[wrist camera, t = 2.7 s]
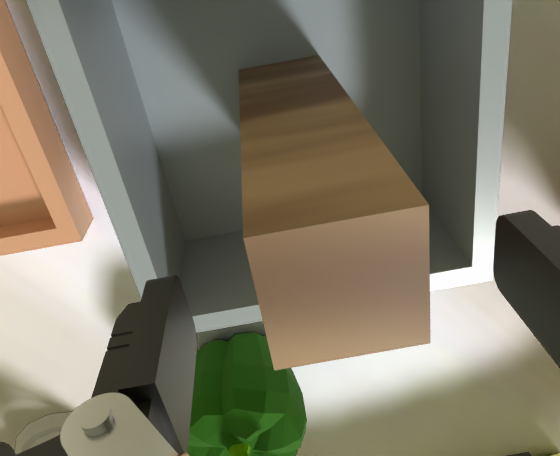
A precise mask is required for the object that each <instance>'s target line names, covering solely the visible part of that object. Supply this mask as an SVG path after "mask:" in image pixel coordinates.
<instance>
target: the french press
mask: <svg viewBox="0 0 560 456" xmlns="http://www.w3.org/2000/svg"><path fill="white" fill-rule="evenodd" d="M71 413H72V412H64V413H55V414H49V415H47V416H44V417H42V418H40V419H38V420H35V421H33V422H31V423H29V424H28V425H27V426H26V427H25V428H24V429H23V430H22V432H21V433H20V434H19V435H18V436H17V437H16V444H15V453H16V454H19V453H21V452H23V451H25V450H28V449H30V448H32V447H34V446H36V445H39V444H41V443H43V442H45V441H48V440H50V439H52V438H54V437H56V436H58V435H59V434H61V429H62V426H63V424H64V422H65V421H66V419H67V418H68V416H69V415H70V414H71Z"/></svg>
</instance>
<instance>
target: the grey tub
mask: <svg viewBox="0 0 560 456" xmlns="http://www.w3.org/2000/svg"><path fill="white" fill-rule="evenodd" d="M26 2H27V4H28V7H29V10H30V12H31V15H32V17H33V20H34V23H35V25H36V28H37V30H38V33H39V36H40V38H41V41H42V43H43V46H44V48H45V51H46V54H47V56H48V59H49V61H50V64H51V67H52V69H53V72H54V74H55V77H56V80H57V82H58V85H59V87H60V90H61V92H62V95H63V98H64V100H65V103H66V105H67V108H68V111H69V113H70V116H71V118H72V121H73V124H74V126H75V129H76V131H77V134H78V136H79V139H80V142H81V144H82V147H83V149H84V152H85V155H86V157H87V160H88V162H89V165H90V168H91V170H92V173H93V175H94V178H95V181H96V183H97V186H98V188H99V191H100V193H101V196H102V199H103V201H104V204H105V206H106V209H107V212H108V214H109V217H110V219H111V222H112V225H113V227H114V230H115V232H116V235H117V237H118V240H119V243H120V245H121V248H122V250H123V253H124V256H125V258H126V261H127V263H128V266H129V269H130V271H131V274H132V276H133V279H134V281H135V284H136V287H137V289H138V292H139V294H140V297H141V298H142V294H143V291H144V287H145V283H146V281H147V280H152V279H157V278H162V277H168V276H173V275H177V276H178V277H179V279H180V281H181V284H182V287H183V290H184V293H185V296H186V299H187V302H188V305H189V308H190V311H191V315H192V318H193V321H194V324H195V329H196V333H198V332H204V331H210V330H215V329H221V328H227V327H232V326H238V325H243V324H249V323H255V322H260V321H263V320H262V316H261V312H260V307H259V303H258V299H257V295H256V290H255V286H254V282H253V277H252V273H251V269H250V265H249V260H248V256H247V252H246V248H245V243H244V239H243V211H242V176H241V142H240V107H239V73H238V70H239V69H245V68H250V67H256V66H261V65H267V64H272V63H277V62H283V61H288V60H294V59H299V58H305V57H310V56H315V55H319V56H320V57H321V59H322V60H323V61H324V63H325V64H326V65H327V67H328V68H329V69H330V71H331V72H332V74H333V75H334V76H335V78H336V79H337V80H338V82H339V83H340V84H341V86H342V87H343V88H344V90H345V91H346V93H347V94H348V95H349V97H350V98H351V99H352V101H353V102H354V103H355V105H356V106H357V108H358V109H359V110H360V112H361V113H362V114H363V116H364V117H365V118H366V120H367V121H368V122H369V124H370V125H371V127H372V128H373V129H374V131H375V132H376V133H377V135H378V136H379V137H380V139H381V140H382V142H383V143H384V144H385V146H386V147H387V148H388V150H389V151H390V152H391V154H392V155H393V156H394V158H395V159H396V161H397V162H398V163H399V165H400V166H401V167H402V169H403V170H404V171H405V173H406V174H407V175H408V177H409V178H410V180H411V181H412V182H413V184H414V185H415V186H416V188H417V189H418V190H419V192H420V193H421V195H422V196H423V197H424V199H425V200H426V201H427V203H428V204H429V253H430V291H435V290H440V289H446V288H452V287H457V286H463V285H469V284H474V283H480V282H485V281H491V280H493V262H494V245H495V228H496V221H497V211H498V197H499V183H500V169H501V155H502V141H503V127H504V113H505V99H506V85H507V71H508V56H509V42H510V28H511V14H512V0H26Z"/></svg>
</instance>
